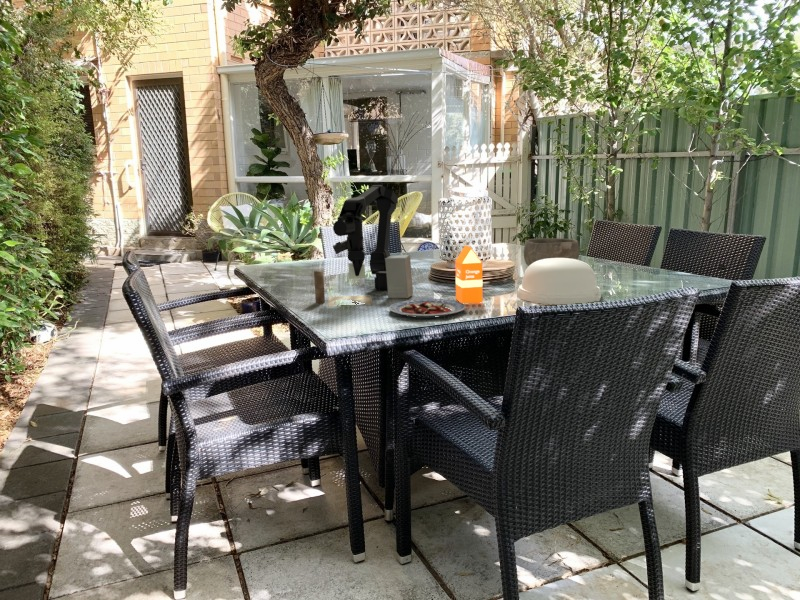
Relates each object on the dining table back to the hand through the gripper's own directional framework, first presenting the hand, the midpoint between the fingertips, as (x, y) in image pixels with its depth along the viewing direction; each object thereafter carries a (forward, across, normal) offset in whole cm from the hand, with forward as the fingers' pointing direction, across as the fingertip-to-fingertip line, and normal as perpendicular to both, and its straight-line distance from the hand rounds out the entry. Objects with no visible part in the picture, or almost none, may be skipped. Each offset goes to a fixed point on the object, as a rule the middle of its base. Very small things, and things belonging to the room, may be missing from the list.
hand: (356, 274), depth 236 cm
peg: (+9, +6, -14) cm, 18 cm away
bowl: (+10, -38, +88) cm, 96 cm away
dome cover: (+10, +13, +74) cm, 76 cm away
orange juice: (+9, +15, +40) cm, 44 cm away
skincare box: (+9, +1, +16) cm, 19 cm away
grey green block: (+1, 0, 0) cm, 1 cm away
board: (+9, +5, -3) cm, 11 cm away
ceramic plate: (+10, +29, +23) cm, 38 cm away
